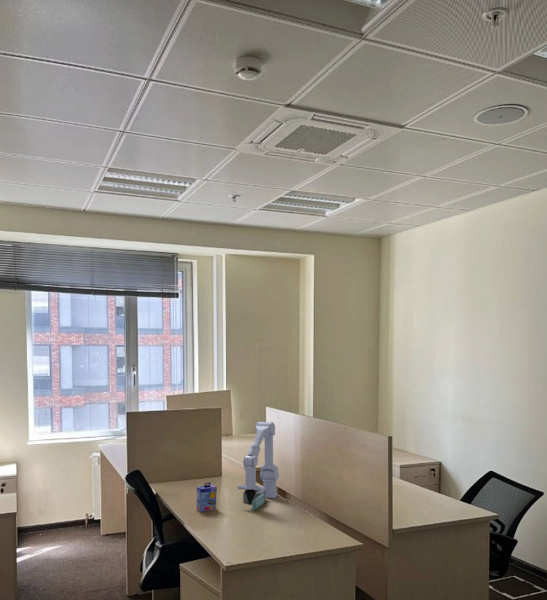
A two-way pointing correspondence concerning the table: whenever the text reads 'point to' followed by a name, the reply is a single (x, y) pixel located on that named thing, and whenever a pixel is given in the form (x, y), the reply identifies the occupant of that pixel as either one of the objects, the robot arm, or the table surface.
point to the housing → (254, 496)
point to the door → (257, 502)
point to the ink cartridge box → (206, 497)
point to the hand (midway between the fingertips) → (250, 503)
